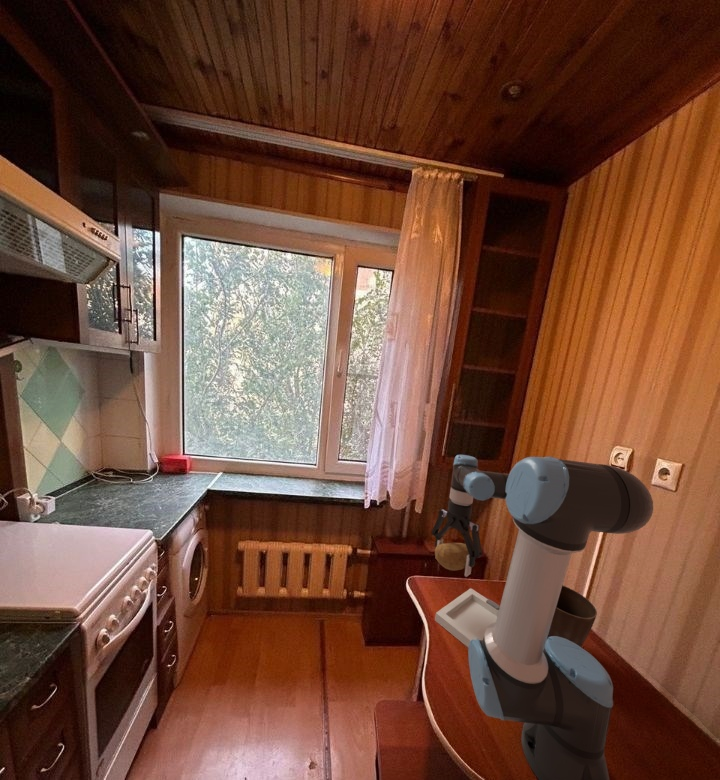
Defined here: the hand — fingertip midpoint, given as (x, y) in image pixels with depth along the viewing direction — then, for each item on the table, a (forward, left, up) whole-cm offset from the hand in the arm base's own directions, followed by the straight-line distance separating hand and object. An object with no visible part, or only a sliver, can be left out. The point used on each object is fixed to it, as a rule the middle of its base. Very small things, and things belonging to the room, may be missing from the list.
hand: (452, 566), depth 102 cm
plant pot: (+16, -29, -15) cm, 36 cm away
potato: (0, 0, -1) cm, 1 cm away
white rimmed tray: (+3, -10, -15) cm, 18 cm away
